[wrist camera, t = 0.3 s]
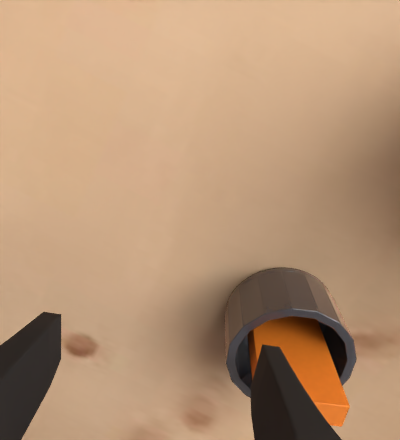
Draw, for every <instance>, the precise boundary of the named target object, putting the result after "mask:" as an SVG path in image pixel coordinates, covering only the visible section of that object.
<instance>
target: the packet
mask: <svg viewBox="0 0 400 440" xmlns="http://www.w3.org/2000/svg"><path fill="white" fill-rule="evenodd" d="M247 335H248V344H249V354H250V363H251V373H252V380H253V376H254V373H255V369H256V365H257V362H258V358H259V355H260V351H261V348H262V344H264V345H271V346H278V347H280V348H281V350H282V352H283V353H284V355H285V357H286V359H287V360H288V362H289V364H290V366H291V367H292V369H293V371H294V372H295V374H296V376H297V377H298V379H299V381H300V382H301V384H302V385H303V387H304V389H305V390H306V392H307V393H308V395H309V396H310V398H311V399H312V401H313V402H314V404H315V405H316V407H317V408H318V410H319V411H320V412H321V414H322V415H323V416H324V418H325V419H326V421H327V422H328V423H329V425H332V426H340V427H341V426H342V425H343V422H344V420H345V417H346V415H347V412H348V410H349V407H350V406H349V403H348V401H347V398H346V395H345V393H344V390H343V387H342V385H341V382H340V379H339V377H338V374H337V371H336V368H335V366H334V363H333V360H332V358H331V355H330V352H329V350H328V347H327V344H326V342H325V339H324V336H323V334H322V331H321V328H320V325H319V323H318V320H316V319H311V318H303V317H295V316H290V317H285V318H280V319H274V320H269V321H267V322H265V323H264V324H262V325H260V326H258V327H257V328H255V329H253V330H251V331H250V332H249V333H248V334H247Z"/></svg>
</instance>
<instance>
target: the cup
mask: <svg viewBox="0 0 400 440" xmlns="http://www.w3.org/2000/svg"><path fill="white" fill-rule="evenodd" d="M290 316H295V317H303V318H311V319H316V320H318V323H319V325H320V328H321V331H322V334H323V336H324V339H325V342H326V344H327V347H328V350H329V352H330V355H331V358H332V360H333V363H334V366H335V368H336V371H337V374H338V377H339V379H340V382H341V385H343V384H344V383H345V382H346V381H347V380H348V379H349V378H350V376H351V373H352V370H353V368H354V365H355V362H356V352H355V346H354V340H353V338H352V336H351V333H350V331H349V329H348V327H347V325H346V323H345V321H344V319H343V316H342V314H341V312H340V310H339V308H338V306H337V304H336V302H335V300H334V298H333V296H332V295H331V293H330V292H329V290H328V288H327V287H326V286H325V285H324V284H323V283H322V282H321V281H320V280H319V279H318V278H316V277H315V276H313V275H311V274H309V273H307V272H305V271H301V270H298V269H293V268H273V269H267V270H264V271H260V272H258V273H255V274H253V275H251V276H250V277H248V278H246V279H245V280H244V281H242V282H241V283H240V284H239V285H238V286H237V287H236V288H235V290H234V291H233V292H232V294H231V295H230V297H229V300H228V302H227V306H226V313H225V348H226V365H227V368H228V371H229V374H230V377H231V380H232V382H233V383H234V384H235V385H236V386H237V387H238V388H239V389H240V390H241V391H242V392H243V393H244V394H245V395H246V396H248V397H250V398H251V383H252V373H251V363H250V354H249V344H248V335H247V334H248V333H249V332H250V331H251V330H253V329H255V328H257V327H258V326H260V325H262V324H264V323H265V322H267V321H269V320H274V319H280V318H285V317H290Z"/></svg>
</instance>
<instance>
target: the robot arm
mask: <svg viewBox="0 0 400 440" xmlns="http://www.w3.org/2000/svg"><path fill="white" fill-rule="evenodd" d="M60 360H61V314H54V313H48V312H43V313H42V314H40V315H39V316H38V317H36V318H35V319H34V320H33V321H31V322H30V323H29V324H28V325H26V326H25V327H24V328H23V329H21V330H20V331H19V332H17V333H16V334H15V335H14V336H12V337H11V338H10V339H8V340H7V341H6V342H4V343H3V344H2V345H0V440H21V439H22V437H23V435H24V434H25V432H26V430H27V428H28V426H29V424H30V423H31V421H32V419H33V417H34V415H35V413H36V412H37V410H38V408H39V406H40V404H41V402H42V400H43V399H44V397H45V395H46V393H47V391H48V389H49V387H50V385H51V383H52V380H53V378H54V375H55V373H56V370H57V368H58V365H59V362H60ZM251 415H252V423H253V430H254V438H255V440H341V438H340V437H339V436H338V435H337V434H336V432H335V431H334V430H333V429H332V427H331V426H330V425H329V423H328V422H327V421H326V419H325V418H324V416H323V415H322V414H321V412H320V411H319V410H318V408H317V407H316V405H315V404H314V402H313V401H312V399H311V398H310V396H309V395H308V393H307V392H306V390H305V389H304V387H303V385H302V384H301V382H300V381H299V379H298V377H297V376H296V374H295V372H294V371H293V369H292V367H291V366H290V364H289V362H288V360H287V359H286V357H285V355H284V353H283V352H282V350H281V348H280V347H278V346H271V345H264V344H262V348H261V351H260V355H259V358H258V362H257V365H256V369H255V373H254V376H253V380H252V383H251Z"/></svg>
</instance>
